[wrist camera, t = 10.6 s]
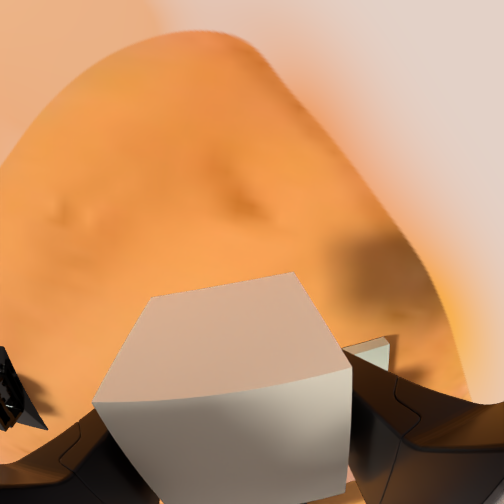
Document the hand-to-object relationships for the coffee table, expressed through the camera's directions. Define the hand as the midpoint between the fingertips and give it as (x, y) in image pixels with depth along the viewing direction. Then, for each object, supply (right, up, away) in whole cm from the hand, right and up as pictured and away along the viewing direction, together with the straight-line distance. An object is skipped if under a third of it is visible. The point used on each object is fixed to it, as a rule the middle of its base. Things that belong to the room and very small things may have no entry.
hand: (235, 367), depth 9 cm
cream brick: (0, 0, +1) cm, 1 cm away
